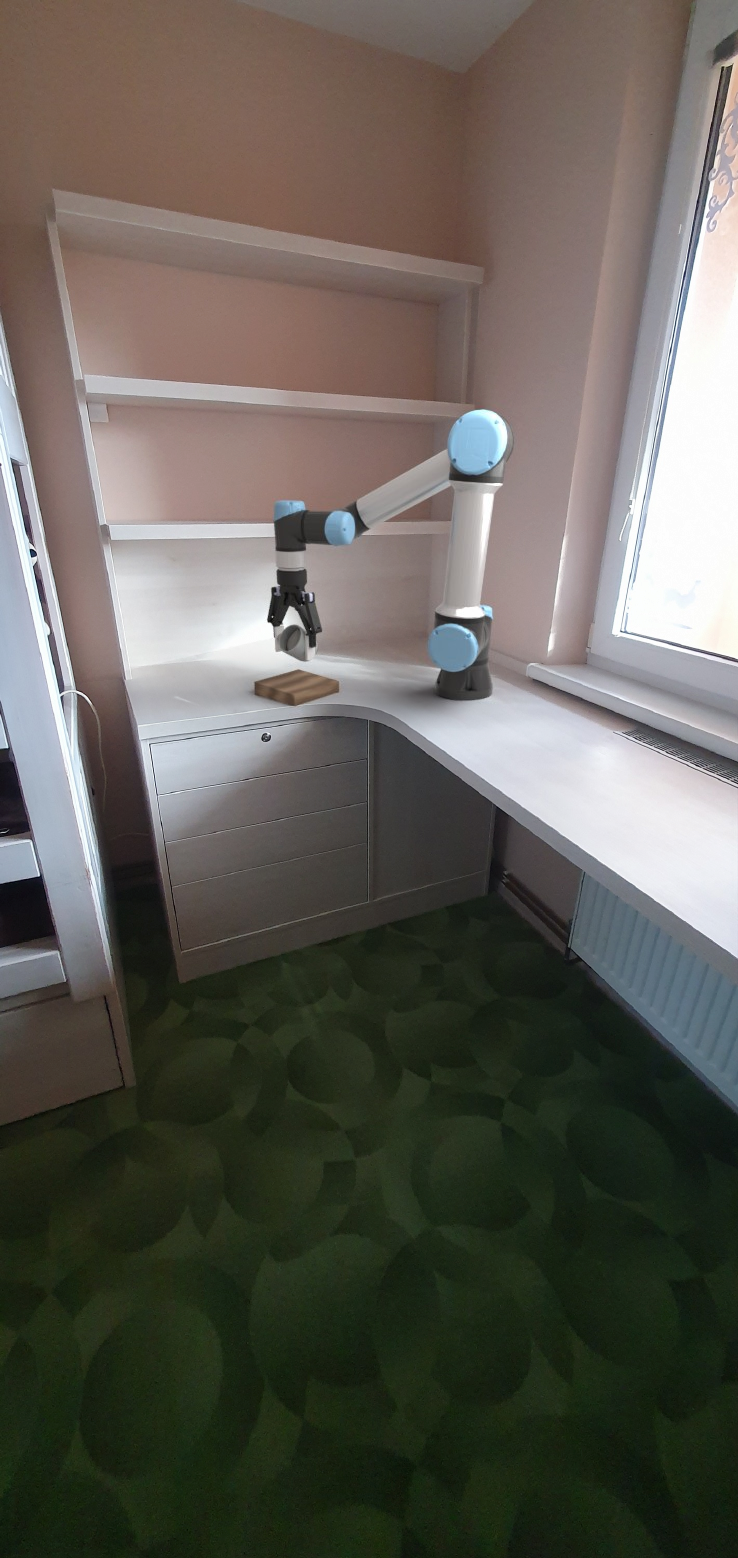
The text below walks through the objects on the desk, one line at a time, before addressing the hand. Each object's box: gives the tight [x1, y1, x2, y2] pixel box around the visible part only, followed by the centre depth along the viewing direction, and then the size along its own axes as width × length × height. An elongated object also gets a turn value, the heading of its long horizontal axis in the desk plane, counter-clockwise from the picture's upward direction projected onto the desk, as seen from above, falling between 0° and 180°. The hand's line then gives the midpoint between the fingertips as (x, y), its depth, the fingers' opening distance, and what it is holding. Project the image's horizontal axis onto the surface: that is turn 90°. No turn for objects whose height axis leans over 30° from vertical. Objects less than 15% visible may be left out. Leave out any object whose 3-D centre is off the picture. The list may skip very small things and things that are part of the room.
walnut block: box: [253, 669, 340, 707], centre depth 175 cm, size 16×16×4 cm
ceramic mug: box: [277, 623, 319, 663], centre depth 169 cm, size 11×8×8 cm
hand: (295, 655), depth 171 cm, fingers closed on ceramic mug, 11 cm apart
